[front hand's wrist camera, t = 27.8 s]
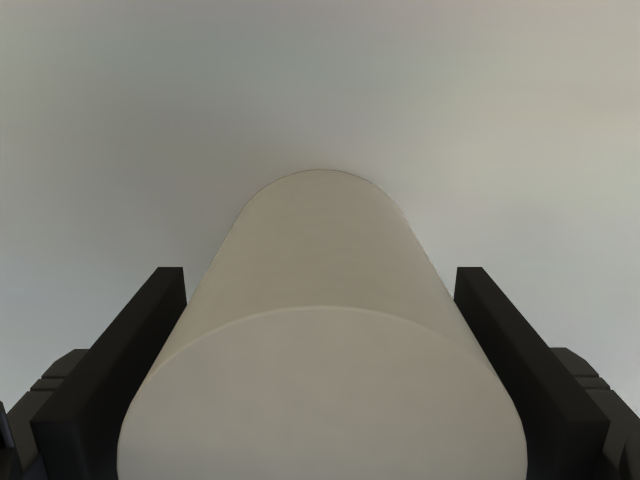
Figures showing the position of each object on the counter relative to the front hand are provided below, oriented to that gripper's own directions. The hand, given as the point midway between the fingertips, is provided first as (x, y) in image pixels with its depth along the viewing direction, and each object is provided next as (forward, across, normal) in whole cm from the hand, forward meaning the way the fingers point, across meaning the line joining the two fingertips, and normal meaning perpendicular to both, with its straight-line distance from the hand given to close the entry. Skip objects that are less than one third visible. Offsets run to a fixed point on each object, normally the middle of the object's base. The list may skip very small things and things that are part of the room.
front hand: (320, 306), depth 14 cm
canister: (+4, 0, 0) cm, 4 cm away
